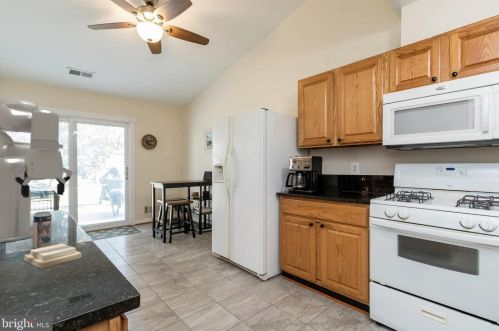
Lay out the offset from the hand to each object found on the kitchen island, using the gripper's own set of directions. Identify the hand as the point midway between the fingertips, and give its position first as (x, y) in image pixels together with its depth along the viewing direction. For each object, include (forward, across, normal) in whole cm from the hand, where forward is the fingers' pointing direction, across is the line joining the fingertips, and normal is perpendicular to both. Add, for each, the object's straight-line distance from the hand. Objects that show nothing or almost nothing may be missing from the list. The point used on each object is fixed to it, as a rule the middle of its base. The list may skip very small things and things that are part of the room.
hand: (43, 195), depth 85 cm
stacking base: (+18, +3, +15) cm, 24 cm away
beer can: (+18, 0, -1) cm, 18 cm away
